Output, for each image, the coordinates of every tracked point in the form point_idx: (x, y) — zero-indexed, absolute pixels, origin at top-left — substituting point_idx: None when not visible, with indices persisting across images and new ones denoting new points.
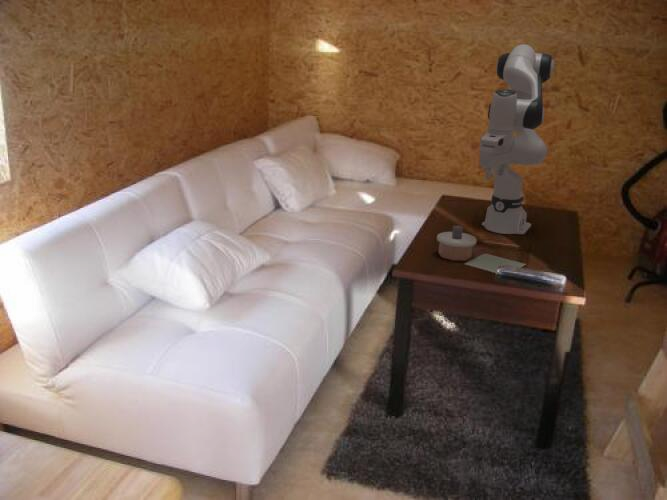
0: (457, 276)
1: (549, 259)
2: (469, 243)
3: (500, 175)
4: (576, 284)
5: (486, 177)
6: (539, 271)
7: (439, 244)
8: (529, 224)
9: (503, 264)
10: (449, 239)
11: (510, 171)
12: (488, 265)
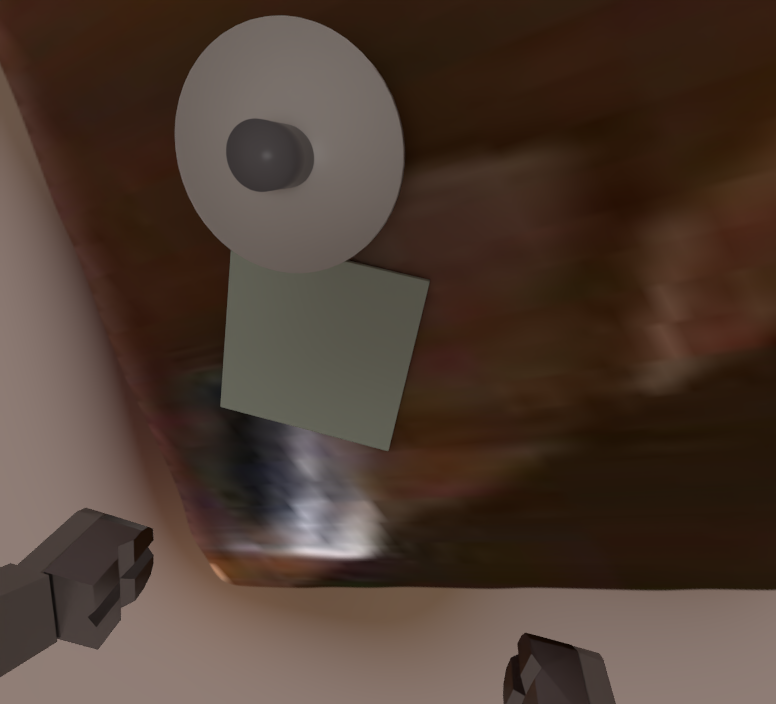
0: (115, 244)
1: (525, 511)
2: (236, 253)
3: (511, 664)
4: (316, 582)
5: (70, 532)
6: (364, 489)
7: None
8: None
9: (331, 378)
10: (223, 128)
11: None
12: (280, 329)
